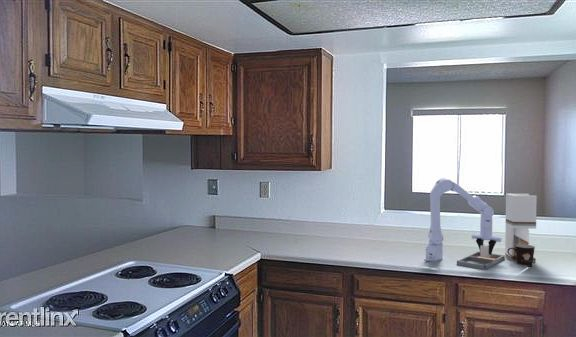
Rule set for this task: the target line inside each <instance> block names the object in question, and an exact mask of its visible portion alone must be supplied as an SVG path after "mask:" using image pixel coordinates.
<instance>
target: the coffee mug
mask: <svg viewBox="0 0 576 337" xmlns="http://www.w3.org/2000/svg"><path fill="white" fill-rule="evenodd" d="M515 246H516V249H514V248H509V249H508V251H507V252H508V254H509V250H510V249H514V250H515V252H516V255H517V259H516V258H515V257H513V256H512V255H510V254H509V255H510V256H511V257H513V258H514V259H516V260H517V264H518V265H521V266H526V268H532V266H533V263H534V262H533V257H534V254H535V248H536V247H535V246H534V245H531V244H528V245H524V244H518V245H515Z"/></svg>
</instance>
